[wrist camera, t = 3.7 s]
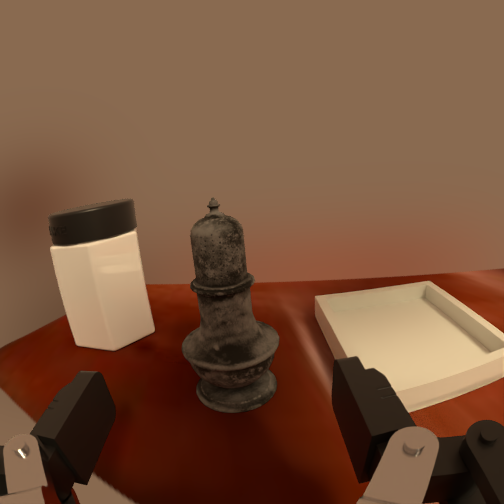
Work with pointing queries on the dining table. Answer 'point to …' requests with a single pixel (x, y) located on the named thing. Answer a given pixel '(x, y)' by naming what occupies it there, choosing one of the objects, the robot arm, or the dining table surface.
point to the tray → (414, 340)
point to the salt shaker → (227, 321)
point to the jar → (101, 274)
